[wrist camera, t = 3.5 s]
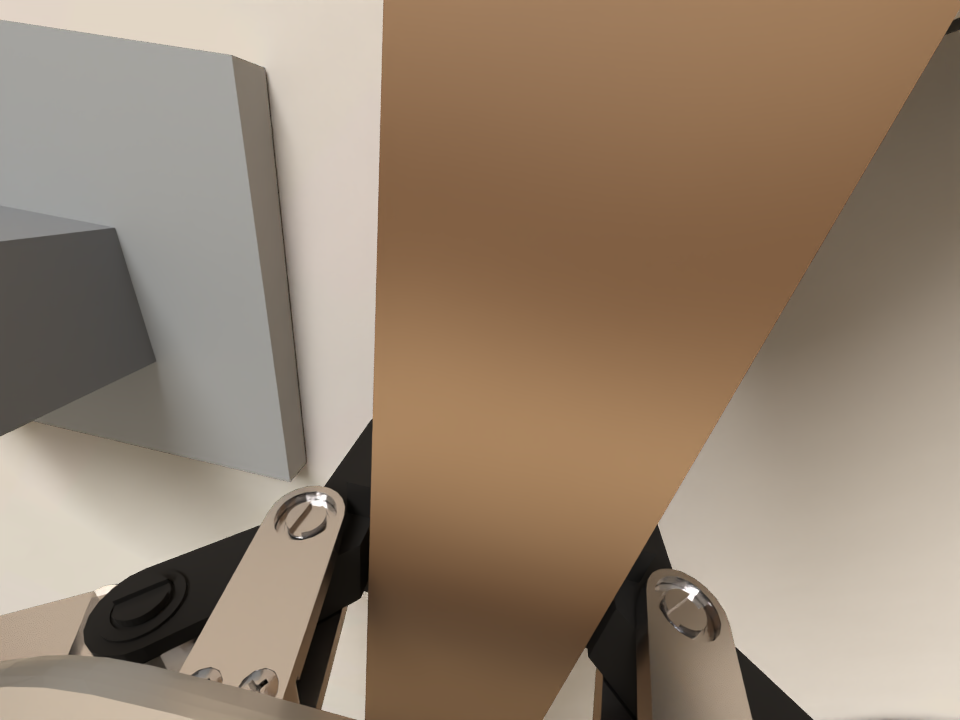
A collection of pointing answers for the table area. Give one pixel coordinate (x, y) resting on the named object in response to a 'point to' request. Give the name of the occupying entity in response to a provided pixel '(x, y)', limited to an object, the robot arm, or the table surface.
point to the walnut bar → (583, 296)
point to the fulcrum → (144, 250)
